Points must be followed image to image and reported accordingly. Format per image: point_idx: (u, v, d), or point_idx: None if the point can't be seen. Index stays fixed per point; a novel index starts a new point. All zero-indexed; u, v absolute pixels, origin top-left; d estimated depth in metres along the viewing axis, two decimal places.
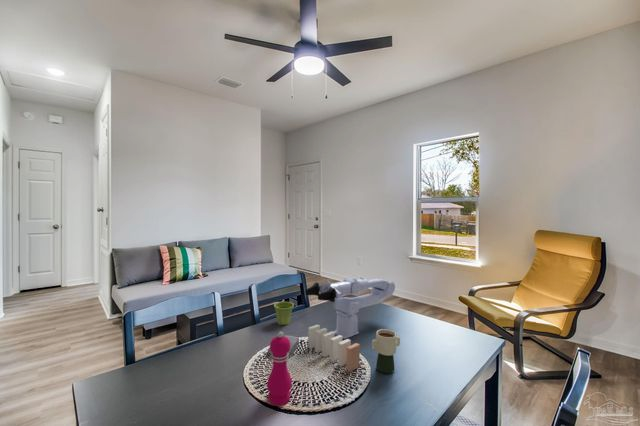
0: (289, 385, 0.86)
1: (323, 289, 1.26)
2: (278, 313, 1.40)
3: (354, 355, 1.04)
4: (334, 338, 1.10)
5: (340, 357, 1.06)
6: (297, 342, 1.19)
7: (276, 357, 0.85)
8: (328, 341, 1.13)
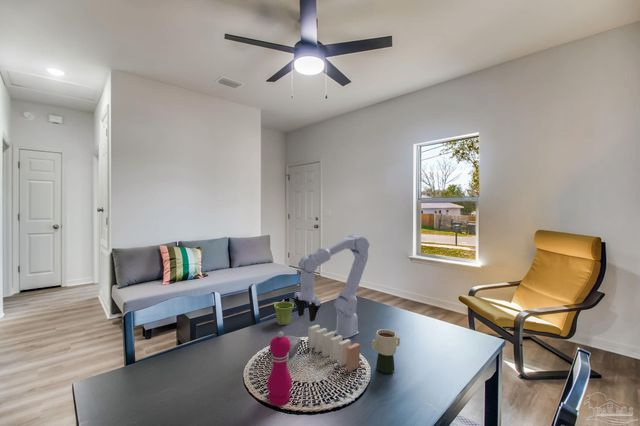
0: (289, 385, 0.86)
1: None
2: (278, 313, 1.40)
3: (354, 355, 1.04)
4: (334, 338, 1.10)
5: (340, 357, 1.06)
6: (299, 342, 1.19)
7: (276, 357, 0.85)
8: (328, 341, 1.13)
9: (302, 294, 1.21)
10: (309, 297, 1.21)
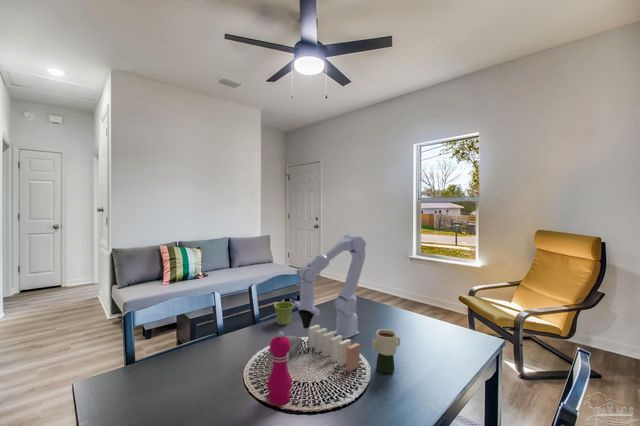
0: (289, 385, 0.86)
1: None
2: (278, 313, 1.40)
3: (354, 355, 1.04)
4: (334, 338, 1.10)
5: (340, 357, 1.06)
6: (300, 342, 1.19)
7: (276, 357, 0.85)
8: (328, 341, 1.13)
9: (302, 304, 1.21)
10: (309, 307, 1.21)
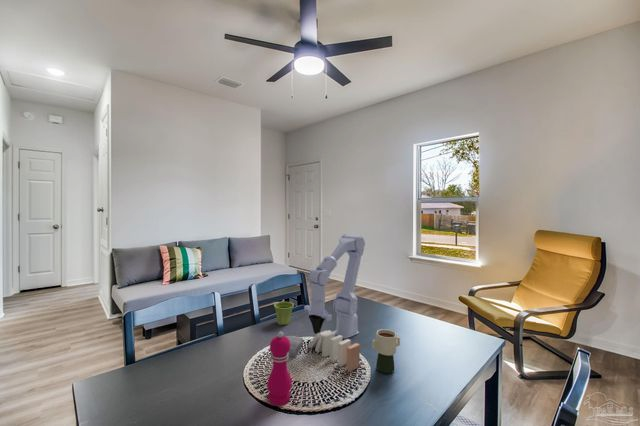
0: (289, 385, 0.86)
1: None
2: (278, 313, 1.40)
3: (354, 355, 1.04)
4: (334, 338, 1.10)
5: (340, 357, 1.06)
6: (301, 342, 1.19)
7: (276, 357, 0.85)
8: (328, 341, 1.13)
9: (312, 308, 1.16)
10: (320, 311, 1.16)
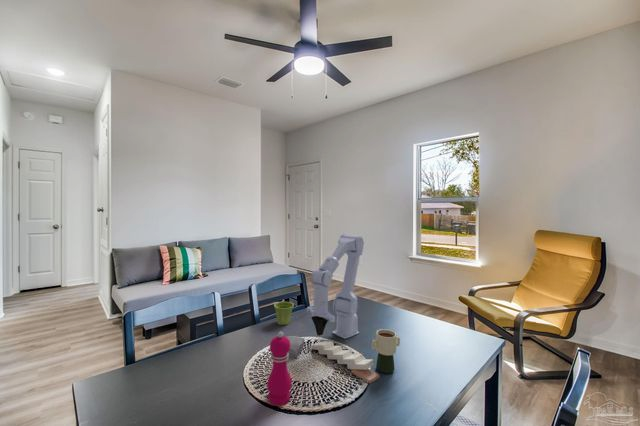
0: (289, 385, 0.86)
1: None
2: (278, 313, 1.40)
3: None
4: (356, 360, 1.03)
5: (354, 368, 1.02)
6: (303, 343, 1.19)
7: (276, 357, 0.85)
8: None
9: (315, 310, 1.15)
10: (323, 313, 1.14)
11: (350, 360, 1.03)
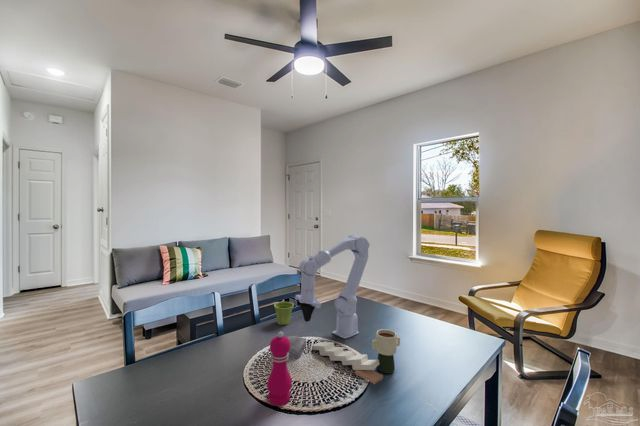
0: (289, 385, 0.86)
1: None
2: (278, 313, 1.40)
3: None
4: (363, 360, 1.03)
5: (359, 368, 1.01)
6: (304, 343, 1.19)
7: (276, 357, 0.85)
8: None
9: (303, 297, 1.22)
10: (310, 300, 1.21)
11: (356, 360, 1.03)
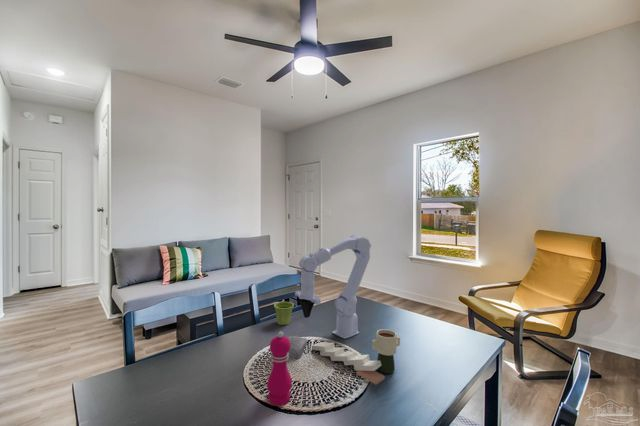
0: (289, 385, 0.86)
1: None
2: (278, 313, 1.40)
3: None
4: (365, 360, 1.03)
5: (361, 369, 1.01)
6: (305, 343, 1.19)
7: (276, 357, 0.85)
8: None
9: (302, 293, 1.23)
10: (309, 296, 1.22)
11: (358, 361, 1.03)
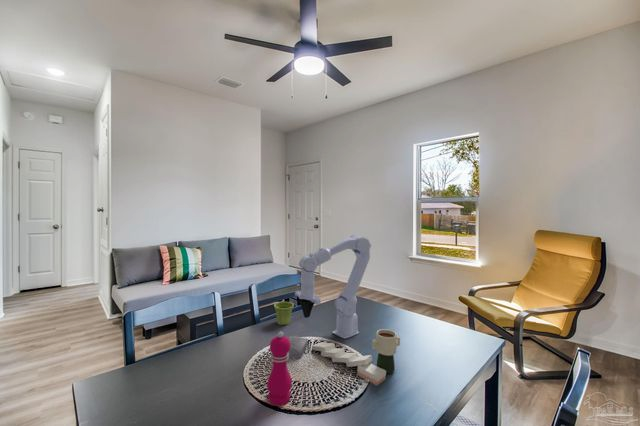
0: (289, 385, 0.86)
1: None
2: (278, 313, 1.40)
3: None
4: (367, 361, 1.02)
5: (364, 373, 0.99)
6: (306, 343, 1.19)
7: (276, 357, 0.85)
8: None
9: (302, 293, 1.23)
10: (309, 296, 1.22)
11: (361, 361, 1.02)
